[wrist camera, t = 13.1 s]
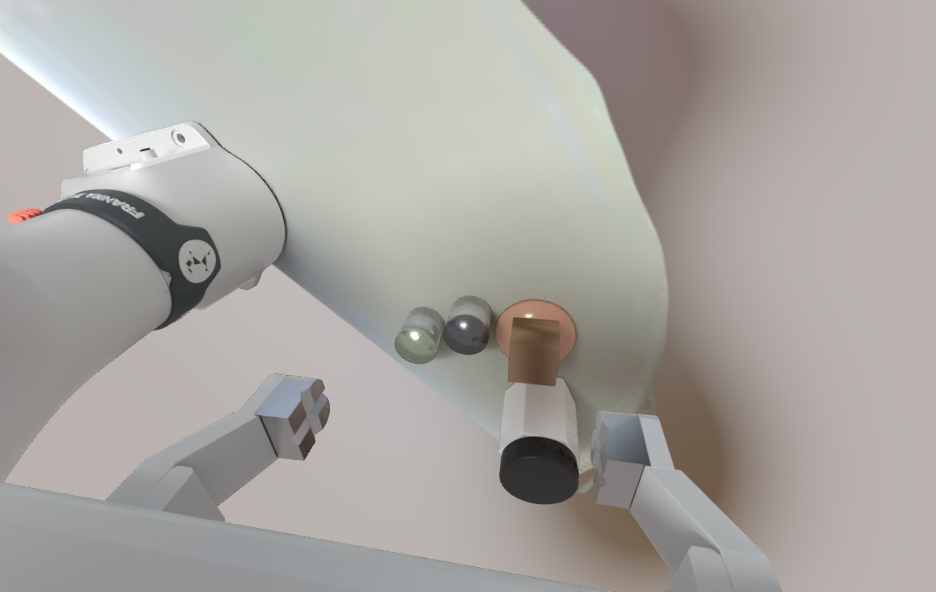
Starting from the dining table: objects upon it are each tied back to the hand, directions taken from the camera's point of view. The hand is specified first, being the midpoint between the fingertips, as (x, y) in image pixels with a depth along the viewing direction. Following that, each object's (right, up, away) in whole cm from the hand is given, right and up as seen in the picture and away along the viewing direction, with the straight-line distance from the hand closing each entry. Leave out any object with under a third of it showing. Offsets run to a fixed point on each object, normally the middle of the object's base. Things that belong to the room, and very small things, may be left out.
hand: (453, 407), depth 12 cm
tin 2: (+1, +1, +34) cm, 34 cm away
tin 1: (-5, 0, +36) cm, 36 cm away
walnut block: (+8, -1, +33) cm, 34 cm away
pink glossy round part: (+8, -1, +34) cm, 35 cm away
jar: (+10, -10, +39) cm, 42 cm away
